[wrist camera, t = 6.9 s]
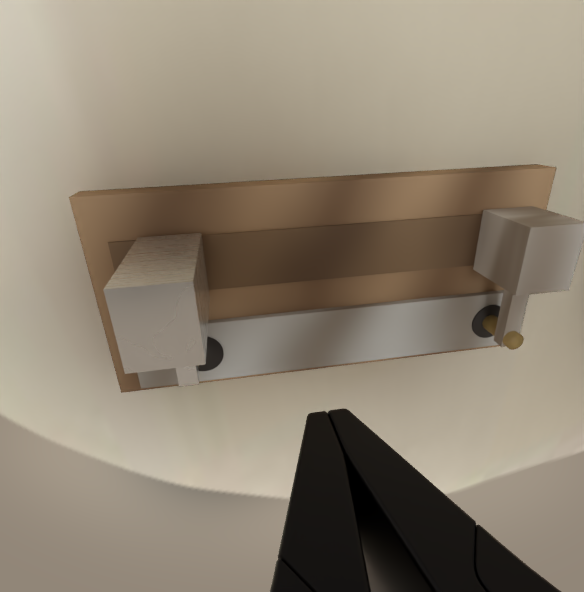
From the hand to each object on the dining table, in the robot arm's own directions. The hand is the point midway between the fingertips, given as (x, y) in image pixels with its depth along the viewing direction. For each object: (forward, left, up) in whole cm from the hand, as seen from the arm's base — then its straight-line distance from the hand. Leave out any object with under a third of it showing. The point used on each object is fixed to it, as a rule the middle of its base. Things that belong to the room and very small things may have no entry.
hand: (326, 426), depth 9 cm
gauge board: (-3, +1, -11) cm, 11 cm away
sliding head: (+4, +1, -9) cm, 10 cm away
